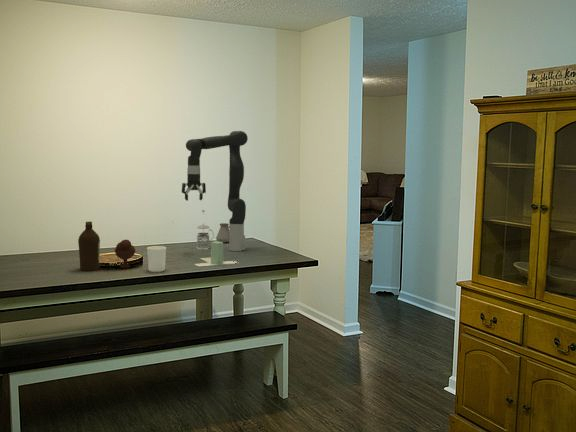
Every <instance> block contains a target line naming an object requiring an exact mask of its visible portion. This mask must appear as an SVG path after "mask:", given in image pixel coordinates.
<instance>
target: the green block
mask: <svg viewBox="0 0 576 432" xmlns="http://www.w3.org/2000/svg"><path fill="white" fill-rule="evenodd" d="M210 248H211V249H210V257H211V264H216V265H215V266H220V265H219V264H222V263H223V262H224V243H223V242H218V241H217V240H215V241H212V242H211V241H210Z"/></svg>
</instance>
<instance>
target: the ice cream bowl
mask: <svg viewBox="0 0 576 432" xmlns="http://www.w3.org/2000/svg"><path fill="white" fill-rule="evenodd" d="M114 253H115V255H116V256H117V257H118V258H119V259H121V260H122V261H123V264H120V265H119V268H122V269H127V268H131V265H130V264H129V263H128V260H129V259H131V258H132V257H133V256H135V254H136V248H135V246H134V245H132V242H131V241H130V239H122V240H121V241H120V242H118V243H117V244H116V246H115V248H114Z"/></svg>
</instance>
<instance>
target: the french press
mask: <svg viewBox="0 0 576 432" xmlns="http://www.w3.org/2000/svg"><path fill="white" fill-rule="evenodd" d="M201 212H202V213H204V212H206V210H205V209H202V210H201ZM197 229H198V230H199V229H200V230H205V229H208V232H198V233H197V236H196V241H197V242H196V247H195V249H196V248H197V249H196V250H201V249H204V250H209V249H208V248H211V246H210V242H211V241H213V239H214V231H213V230H212V229H211V228H210V226H209V225H206V224H200V225H198V226H197ZM210 231H211V232H212V238H211V239H210V235H209V234H210V233H209V232H210Z"/></svg>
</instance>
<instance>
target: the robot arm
mask: <svg viewBox="0 0 576 432" xmlns="http://www.w3.org/2000/svg"><path fill="white" fill-rule="evenodd" d="M248 138H249V137H248V135H247V133H246V132H245V131H243V130H234V131H231V132H230V133H229V134H228V135H217V136H214V135H213V136H207V137H203V138H202V137H201V138H192V139H189V140H187V141H186V143H185V147H186V149H187V151H189V152H190V155H189V156H188V157H187V168H186V169H187V173H186V174H187V175H186V176H187V181H186V182H187V183H186V182H182V183H181V193H182V194H184V200H185V201H189V193H190V192H191V191H198V192H199V199H198V200H199V201H202V200H203V199H204V198H203V197H204V195H203V194H206V192H207V191H206V189H207V188H206V186H207V185H206V183H205V182H201V155H202V152H203V151H202V150H211V149H217V148H221V147H228V148H229V166H228V167H229V169H228V171H229V172H228V173H229V174H228V176H229V178H228V180H229V181H228V182H229V183H228V197H227V198H228V199H227V208H228V210H229V211H230V212H231V213H232V215H231V217H230V218H229V223H228V224H229V225H228V227H229V243H228V245H229V246H228V250H229V251H230V250H231V251H232V252H243V251H245V250H246V235H245V220H246V214H247V213H246V210H247V209H246V207H247V206H246V202H245V200H244V199H242V198H240V191H241V187H242V184H243V182H244V177H245V166H244V163H243V160H242V156H241V147H242V146H244V145H246V144H247V143H248ZM186 187H187V188H186ZM200 187H201V188H202V189H201V188H200ZM242 250H243V251H242ZM231 251H230V252H231Z"/></svg>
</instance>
